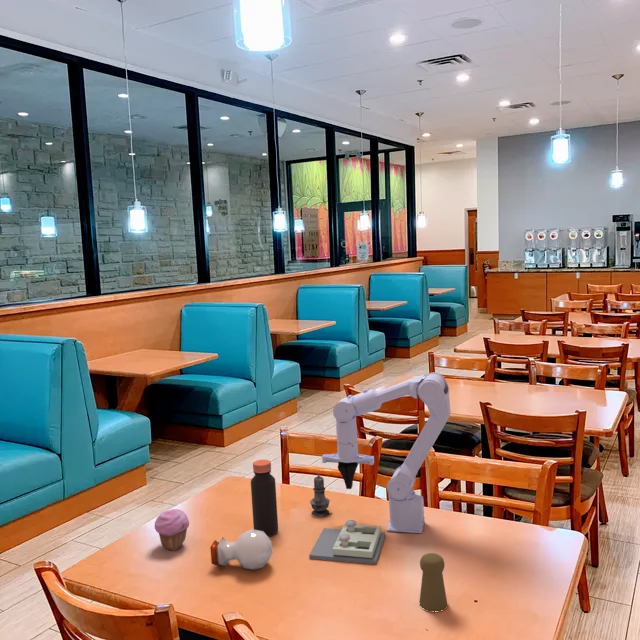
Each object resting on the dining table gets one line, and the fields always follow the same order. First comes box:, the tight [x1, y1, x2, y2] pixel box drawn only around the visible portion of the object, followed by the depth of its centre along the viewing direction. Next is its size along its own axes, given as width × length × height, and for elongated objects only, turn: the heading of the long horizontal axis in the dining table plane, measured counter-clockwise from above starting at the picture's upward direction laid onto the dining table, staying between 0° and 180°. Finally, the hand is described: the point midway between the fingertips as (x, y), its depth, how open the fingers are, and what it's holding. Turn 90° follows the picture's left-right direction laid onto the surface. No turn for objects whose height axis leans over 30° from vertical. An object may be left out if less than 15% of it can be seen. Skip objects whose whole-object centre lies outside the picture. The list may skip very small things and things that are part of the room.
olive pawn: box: [419, 552, 448, 613], centre depth 133 cm, size 6×6×11 cm
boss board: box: [308, 519, 386, 565], centre depth 161 cm, size 17×15×5 cm
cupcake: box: [154, 508, 190, 551], centre depth 166 cm, size 9×9×10 cm
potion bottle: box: [209, 528, 273, 571], centre depth 153 cm, size 9×10×15 cm
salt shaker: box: [309, 473, 331, 518], centre depth 182 cm, size 6×6×12 cm
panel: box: [333, 523, 382, 558], centre depth 160 cm, size 10×14×2 cm
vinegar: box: [250, 459, 279, 537], centre depth 171 cm, size 7×7×20 cm
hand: (349, 487), depth 175 cm, fingers closed
